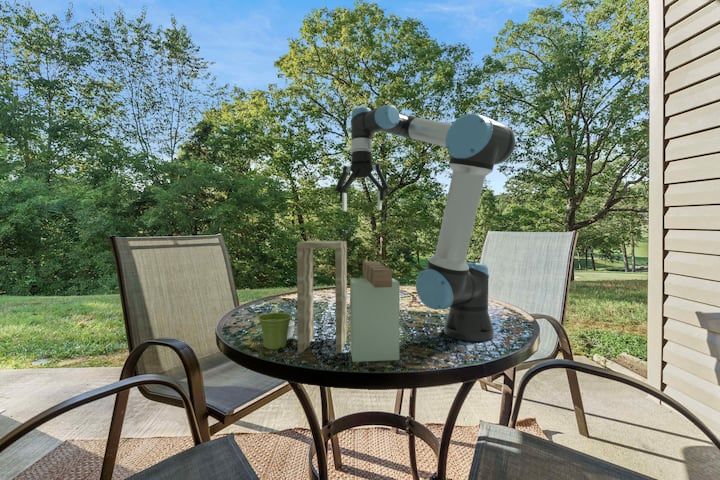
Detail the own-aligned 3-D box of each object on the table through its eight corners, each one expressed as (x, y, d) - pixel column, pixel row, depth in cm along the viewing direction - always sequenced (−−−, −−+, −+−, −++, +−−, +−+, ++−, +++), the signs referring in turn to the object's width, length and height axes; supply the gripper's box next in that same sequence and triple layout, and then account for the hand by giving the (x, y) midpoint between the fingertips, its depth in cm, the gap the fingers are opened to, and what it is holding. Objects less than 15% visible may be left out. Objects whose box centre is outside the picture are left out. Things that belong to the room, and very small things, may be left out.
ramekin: (299, 336, 111) (299, 323, 111) (274, 342, 105) (274, 328, 105) (285, 331, 118) (285, 318, 118) (260, 336, 112) (260, 322, 112)
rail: (362, 274, 106) (362, 261, 106) (376, 274, 106) (376, 261, 106) (374, 287, 82) (374, 270, 82) (392, 287, 82) (391, 270, 82)
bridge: (308, 336, 111) (308, 241, 110) (346, 337, 110) (346, 241, 109) (297, 352, 97) (297, 242, 96) (341, 353, 96) (340, 242, 95)
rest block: (393, 349, 99) (393, 278, 98) (399, 359, 91) (399, 282, 90) (350, 351, 98) (350, 278, 97) (352, 361, 90) (352, 283, 89)
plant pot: (294, 341, 107) (294, 312, 106) (289, 351, 97) (288, 320, 97) (262, 341, 106) (262, 312, 106) (254, 352, 97) (254, 320, 97)
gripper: (397, 151, 129) (397, 210, 130) (334, 156, 137) (334, 211, 138) (392, 147, 122) (392, 208, 123) (326, 152, 130) (326, 210, 131)
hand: (361, 210), depth 130 cm, fingers open, 13 cm apart
